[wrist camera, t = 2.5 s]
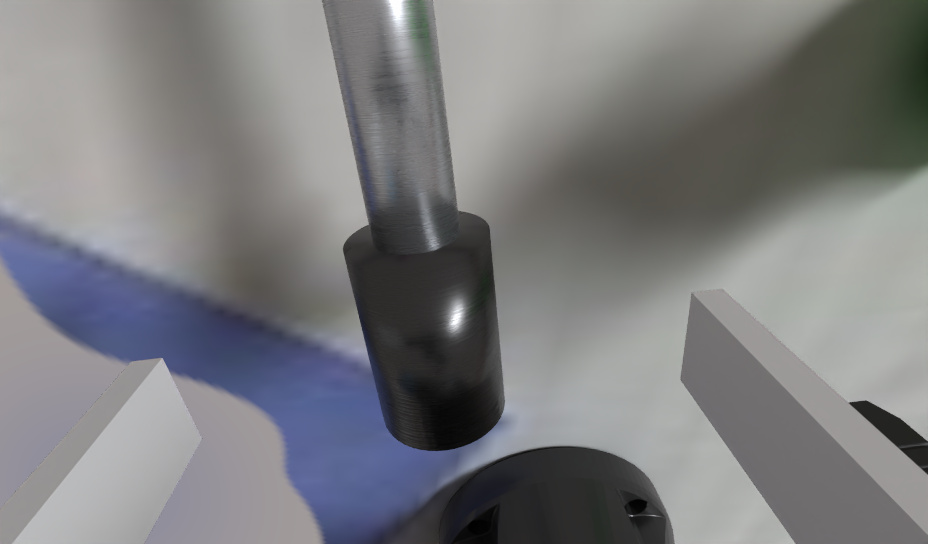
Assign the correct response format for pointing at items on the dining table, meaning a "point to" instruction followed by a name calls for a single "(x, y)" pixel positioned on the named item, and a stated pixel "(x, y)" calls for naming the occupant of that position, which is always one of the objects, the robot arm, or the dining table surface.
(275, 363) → the dining table surface
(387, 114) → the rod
